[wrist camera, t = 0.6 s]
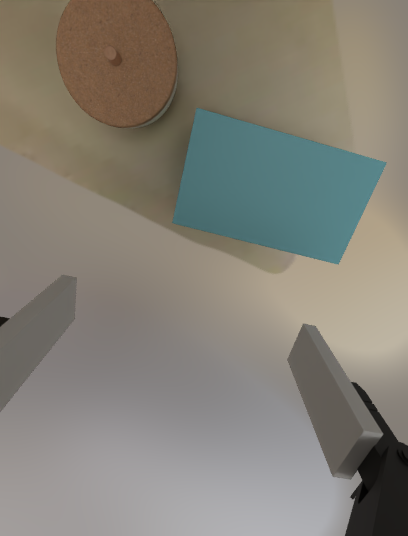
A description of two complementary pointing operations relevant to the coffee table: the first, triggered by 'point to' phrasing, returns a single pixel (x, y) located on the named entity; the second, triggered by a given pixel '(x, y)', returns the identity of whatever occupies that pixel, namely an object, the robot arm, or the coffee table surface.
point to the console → (273, 187)
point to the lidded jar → (118, 60)
